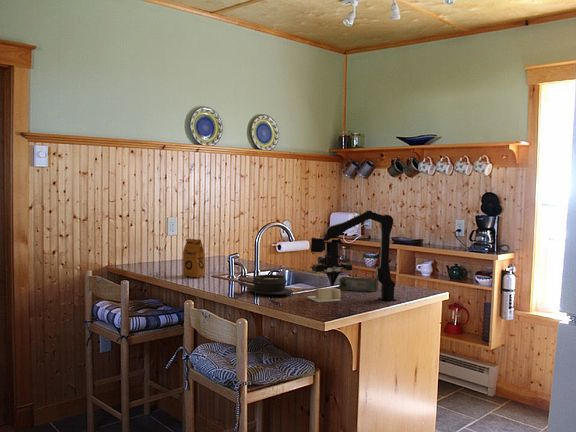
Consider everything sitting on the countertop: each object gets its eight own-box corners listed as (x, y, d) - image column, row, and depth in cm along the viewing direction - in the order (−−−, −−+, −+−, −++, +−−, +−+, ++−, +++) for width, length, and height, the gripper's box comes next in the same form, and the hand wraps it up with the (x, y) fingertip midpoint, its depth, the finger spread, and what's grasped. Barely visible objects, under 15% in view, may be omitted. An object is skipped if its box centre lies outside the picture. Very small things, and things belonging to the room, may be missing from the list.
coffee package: (195, 279, 310) (195, 240, 309) (180, 277, 317) (180, 238, 316) (208, 277, 318) (208, 238, 317) (193, 275, 325) (193, 237, 324)
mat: (341, 300, 255) (341, 299, 255) (317, 302, 251) (317, 301, 251) (330, 295, 266) (330, 295, 266) (307, 297, 262) (307, 296, 262)
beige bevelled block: (340, 290, 258) (321, 291, 255) (340, 298, 258) (320, 299, 255) (335, 287, 264) (315, 288, 260) (334, 296, 264) (315, 297, 260)
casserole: (237, 293, 271) (237, 276, 270) (262, 288, 285) (262, 272, 285) (277, 300, 255) (277, 282, 255) (301, 294, 270) (301, 277, 270)
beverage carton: (342, 287, 292) (342, 274, 291) (378, 289, 286) (378, 277, 286) (338, 289, 284) (339, 277, 284) (376, 292, 278) (376, 279, 278)
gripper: (342, 250, 270) (342, 282, 271) (307, 251, 263) (307, 284, 264) (353, 252, 259) (352, 285, 260) (316, 254, 253) (316, 288, 254)
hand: (332, 285), depth 260 cm, fingers closed
